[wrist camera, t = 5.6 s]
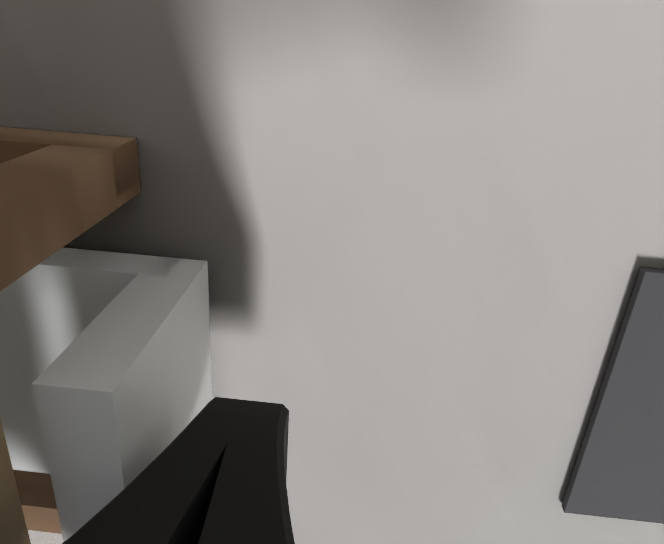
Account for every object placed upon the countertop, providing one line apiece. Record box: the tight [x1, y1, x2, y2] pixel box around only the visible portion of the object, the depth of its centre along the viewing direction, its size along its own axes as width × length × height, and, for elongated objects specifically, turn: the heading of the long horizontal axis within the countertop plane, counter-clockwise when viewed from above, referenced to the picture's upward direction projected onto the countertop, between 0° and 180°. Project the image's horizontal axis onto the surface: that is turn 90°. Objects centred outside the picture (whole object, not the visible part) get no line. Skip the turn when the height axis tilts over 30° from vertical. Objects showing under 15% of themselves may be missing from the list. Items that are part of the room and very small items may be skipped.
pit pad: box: [562, 267, 664, 524], centre depth 11 cm, size 6×3×1 cm, turn 176°
